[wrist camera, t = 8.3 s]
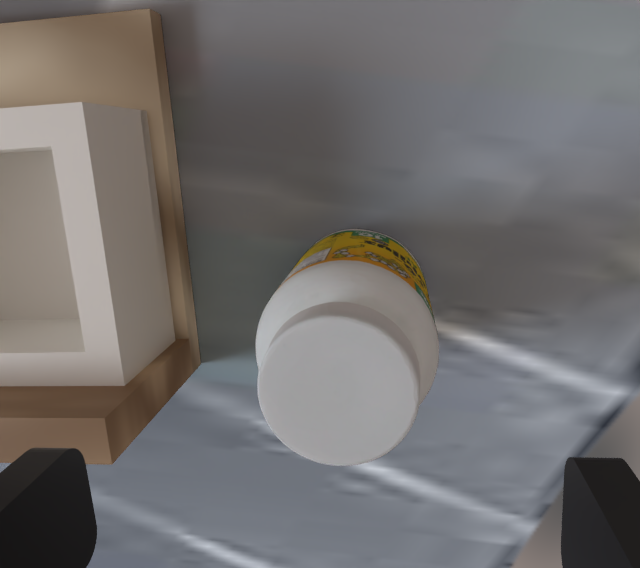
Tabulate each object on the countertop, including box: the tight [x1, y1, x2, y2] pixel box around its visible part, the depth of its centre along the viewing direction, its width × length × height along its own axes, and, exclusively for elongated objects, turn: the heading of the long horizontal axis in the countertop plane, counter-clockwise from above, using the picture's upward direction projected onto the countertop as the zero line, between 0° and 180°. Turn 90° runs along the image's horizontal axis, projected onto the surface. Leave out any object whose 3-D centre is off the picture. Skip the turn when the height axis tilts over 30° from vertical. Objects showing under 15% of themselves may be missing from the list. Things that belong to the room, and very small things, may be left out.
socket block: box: [0, 102, 175, 386], centre depth 21 cm, size 9×9×4 cm
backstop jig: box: [0, 9, 201, 464], centre depth 20 cm, size 14×10×8 cm
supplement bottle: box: [256, 229, 439, 466], centre depth 18 cm, size 5×5×10 cm
